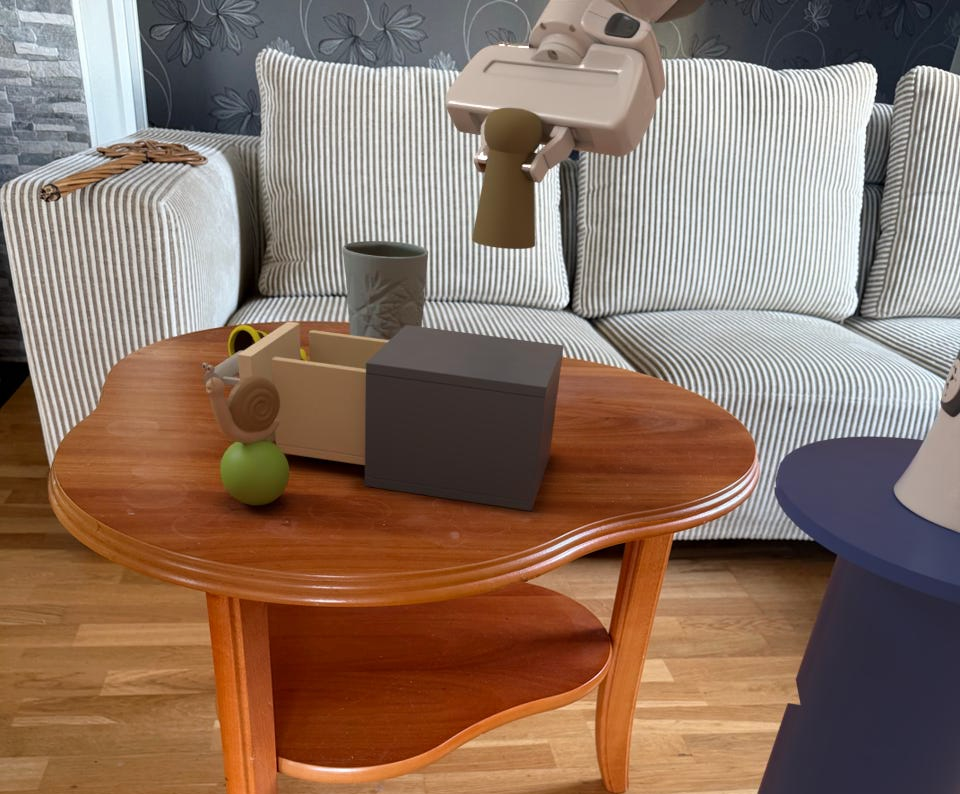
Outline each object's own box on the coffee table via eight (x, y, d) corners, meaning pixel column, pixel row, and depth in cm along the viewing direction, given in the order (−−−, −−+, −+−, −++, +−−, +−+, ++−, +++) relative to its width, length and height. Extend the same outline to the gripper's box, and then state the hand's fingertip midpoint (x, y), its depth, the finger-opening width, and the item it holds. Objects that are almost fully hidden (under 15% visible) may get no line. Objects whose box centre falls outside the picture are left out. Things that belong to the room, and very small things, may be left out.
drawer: (197, 448, 80) (187, 347, 75) (249, 407, 90) (243, 315, 85) (393, 477, 78) (395, 376, 73) (424, 432, 88) (428, 339, 83)
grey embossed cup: (422, 365, 109) (426, 259, 102) (338, 358, 108) (337, 252, 102) (425, 341, 117) (429, 243, 111) (347, 336, 117) (347, 236, 110)
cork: (510, 251, 82) (523, 112, 76) (459, 239, 85) (467, 104, 79) (547, 245, 86) (562, 112, 80) (496, 234, 89) (507, 105, 83)
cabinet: (364, 486, 78) (365, 362, 73) (401, 436, 89) (405, 324, 83) (531, 511, 77) (546, 387, 71) (549, 457, 87) (563, 345, 82)
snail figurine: (199, 502, 73) (183, 354, 67) (264, 483, 77) (256, 341, 71) (238, 526, 70) (226, 374, 64) (304, 504, 74) (299, 359, 68)
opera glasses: (308, 392, 100) (314, 346, 98) (265, 389, 97) (271, 342, 94) (266, 367, 106) (271, 324, 104) (224, 364, 103) (229, 319, 100)
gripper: (476, 12, 85) (404, 130, 84) (668, 26, 75) (590, 160, 74) (500, 69, 91) (433, 181, 89) (681, 89, 81) (609, 215, 80)
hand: (505, 172), depth 82 cm, fingers closed on cork, 4 cm apart
